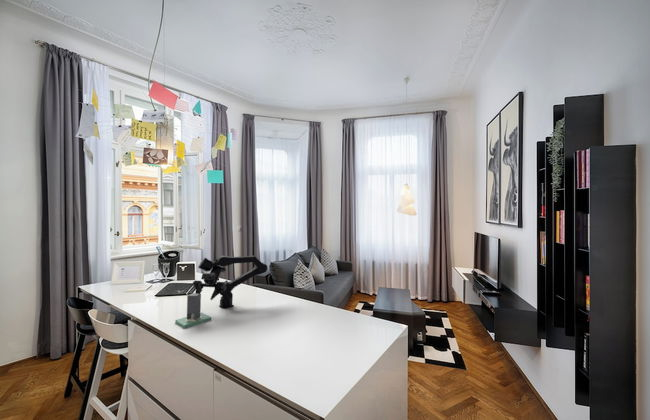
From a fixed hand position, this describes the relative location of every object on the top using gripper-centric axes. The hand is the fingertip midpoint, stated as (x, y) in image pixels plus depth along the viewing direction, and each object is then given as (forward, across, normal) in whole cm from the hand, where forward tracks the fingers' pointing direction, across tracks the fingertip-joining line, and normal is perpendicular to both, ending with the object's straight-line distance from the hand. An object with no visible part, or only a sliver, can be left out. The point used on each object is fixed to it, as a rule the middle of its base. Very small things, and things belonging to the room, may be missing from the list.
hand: (203, 299), depth 147 cm
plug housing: (+11, 0, 0) cm, 11 cm away
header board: (+12, 0, +1) cm, 12 cm away
